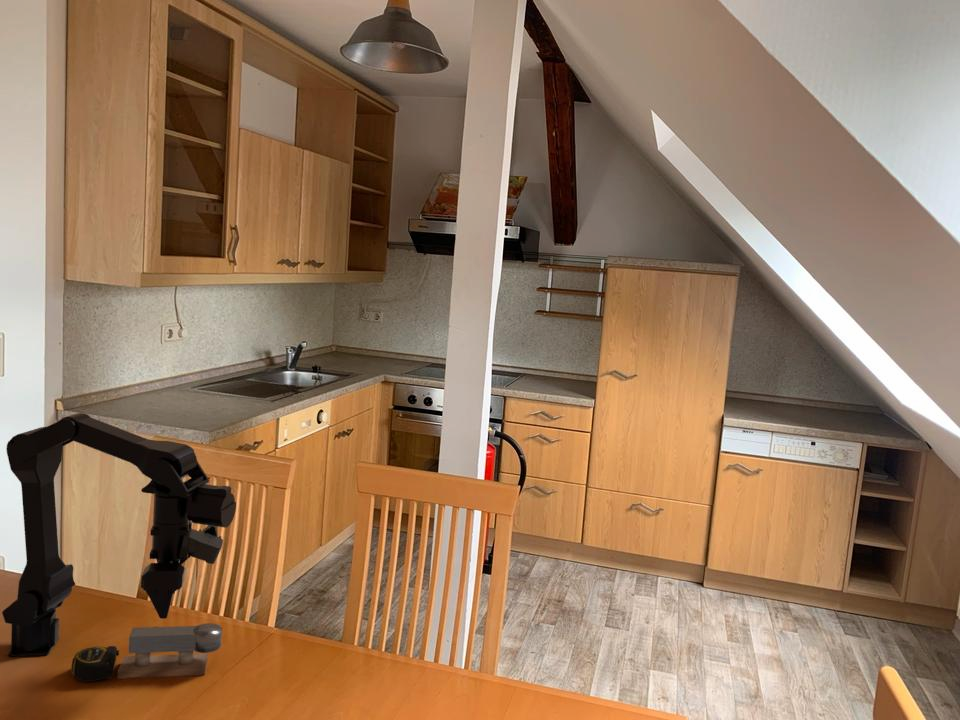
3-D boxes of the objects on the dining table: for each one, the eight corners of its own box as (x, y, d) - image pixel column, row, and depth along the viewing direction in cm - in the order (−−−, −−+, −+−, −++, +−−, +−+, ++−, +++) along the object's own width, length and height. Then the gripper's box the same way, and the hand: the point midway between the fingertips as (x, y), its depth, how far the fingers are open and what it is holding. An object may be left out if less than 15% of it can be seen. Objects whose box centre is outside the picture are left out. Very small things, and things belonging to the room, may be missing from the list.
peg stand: (117, 678, 130) (118, 656, 129) (123, 662, 135) (124, 641, 134) (204, 674, 134) (205, 653, 133) (207, 659, 138) (208, 638, 138)
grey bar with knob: (127, 655, 130) (128, 639, 130) (132, 641, 135) (133, 625, 134) (220, 652, 134) (221, 636, 134) (222, 638, 138) (223, 622, 138)
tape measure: (112, 684, 129) (113, 663, 128) (67, 687, 126) (68, 666, 126) (118, 662, 135) (119, 643, 135) (75, 665, 133) (76, 645, 132)
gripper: (216, 539, 124) (211, 630, 126) (224, 501, 142) (220, 581, 144) (142, 539, 121) (138, 632, 123) (160, 500, 139) (156, 582, 141)
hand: (167, 605), depth 133 cm, fingers open, 9 cm apart
